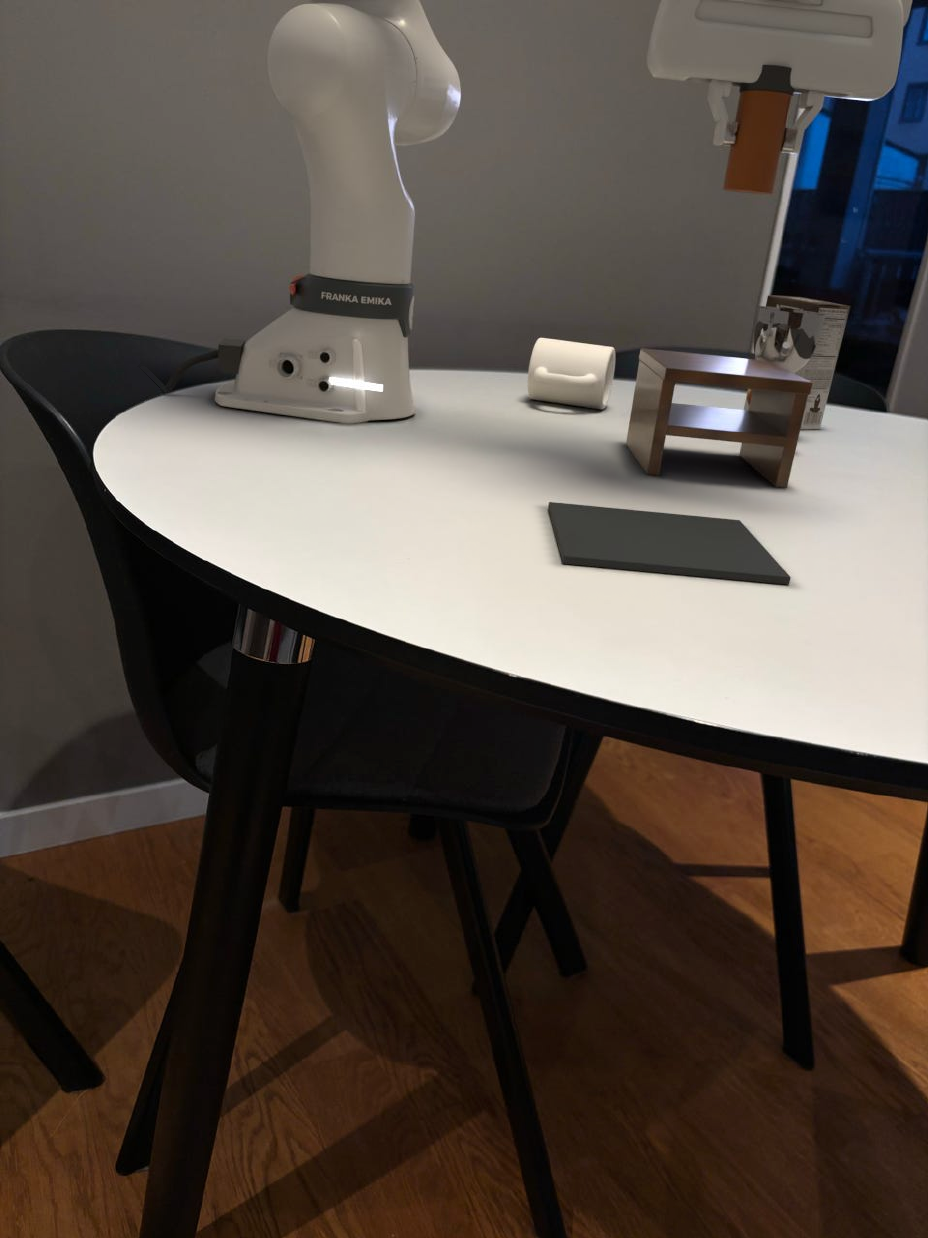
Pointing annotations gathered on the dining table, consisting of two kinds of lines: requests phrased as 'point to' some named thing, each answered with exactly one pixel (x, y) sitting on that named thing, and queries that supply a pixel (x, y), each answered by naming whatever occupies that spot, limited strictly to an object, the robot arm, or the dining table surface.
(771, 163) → the spice bottle
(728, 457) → the dining table surface
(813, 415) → the coffee box
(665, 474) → the dining table surface
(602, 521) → the mat
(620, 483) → the dining table surface
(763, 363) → the shelf
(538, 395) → the mug
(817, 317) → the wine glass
